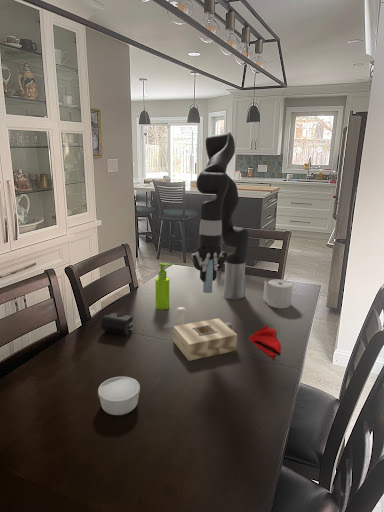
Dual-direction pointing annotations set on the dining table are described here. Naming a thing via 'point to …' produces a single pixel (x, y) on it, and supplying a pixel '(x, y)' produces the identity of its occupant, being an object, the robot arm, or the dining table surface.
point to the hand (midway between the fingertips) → (207, 280)
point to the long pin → (208, 277)
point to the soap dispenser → (162, 288)
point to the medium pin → (180, 316)
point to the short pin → (229, 325)
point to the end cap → (117, 324)
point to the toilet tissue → (278, 293)
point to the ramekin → (119, 395)
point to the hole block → (204, 339)
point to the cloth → (266, 341)
